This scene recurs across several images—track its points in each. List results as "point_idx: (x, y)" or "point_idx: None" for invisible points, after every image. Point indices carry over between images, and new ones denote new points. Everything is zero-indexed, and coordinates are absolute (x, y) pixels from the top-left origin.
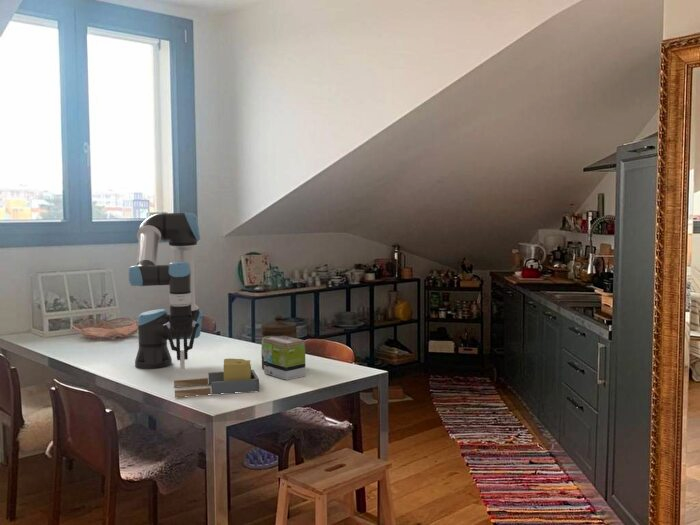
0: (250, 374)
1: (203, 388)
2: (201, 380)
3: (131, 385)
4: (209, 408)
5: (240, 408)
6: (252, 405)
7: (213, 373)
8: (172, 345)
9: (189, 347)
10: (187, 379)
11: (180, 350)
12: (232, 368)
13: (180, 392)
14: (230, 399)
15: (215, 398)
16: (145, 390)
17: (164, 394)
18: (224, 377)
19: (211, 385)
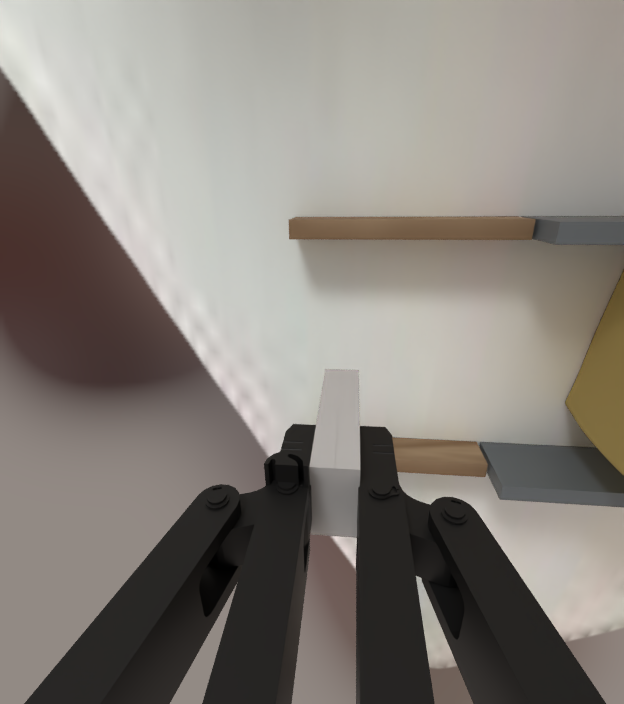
0: None
1: (446, 469)
2: (478, 237)
3: (18, 81)
4: (427, 610)
5: None
6: (598, 631)
7: (594, 244)
8: (204, 602)
9: (426, 581)
10: (383, 223)
11: (317, 474)
12: None
13: None
14: (542, 539)
15: (482, 506)
16: (136, 250)
17: (248, 367)
18: (610, 460)
19: (494, 487)
